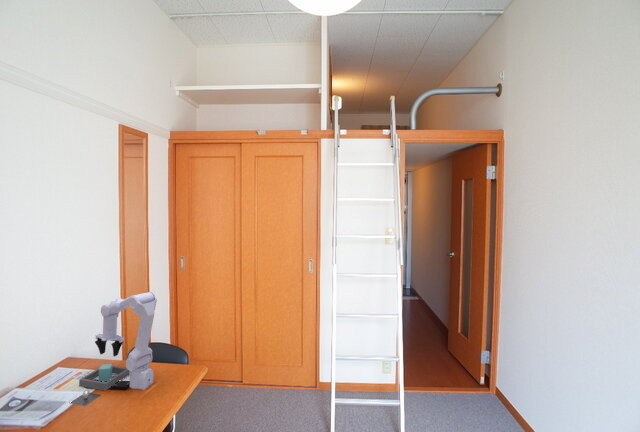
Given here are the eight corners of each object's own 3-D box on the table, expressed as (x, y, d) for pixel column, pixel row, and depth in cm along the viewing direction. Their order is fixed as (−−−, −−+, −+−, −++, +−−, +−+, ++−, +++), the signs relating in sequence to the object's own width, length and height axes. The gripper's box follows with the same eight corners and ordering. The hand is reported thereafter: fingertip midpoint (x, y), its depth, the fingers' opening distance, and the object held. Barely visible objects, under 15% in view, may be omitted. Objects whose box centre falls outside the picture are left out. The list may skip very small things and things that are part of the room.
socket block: (111, 377, 152) (112, 363, 152) (109, 382, 148) (109, 368, 147) (101, 379, 150) (101, 364, 150) (98, 384, 146) (98, 369, 146)
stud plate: (101, 397, 138) (102, 387, 138) (85, 408, 130) (85, 398, 130) (86, 394, 139) (86, 384, 139) (68, 405, 131) (69, 395, 131)
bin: (129, 376, 155) (129, 368, 155) (105, 392, 141) (105, 384, 141) (105, 372, 157) (105, 364, 157) (79, 388, 143) (79, 379, 143)
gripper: (90, 328, 154) (89, 356, 154) (116, 332, 151) (115, 360, 151) (102, 323, 160) (101, 349, 161) (127, 327, 158) (126, 353, 158)
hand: (109, 354), depth 157 cm, fingers open, 7 cm apart
